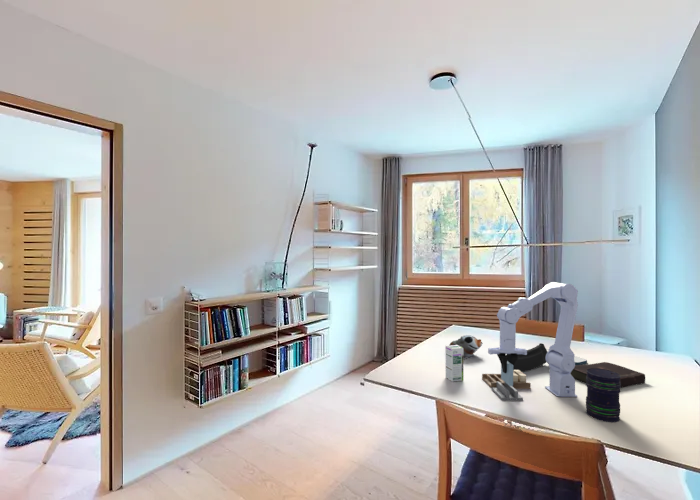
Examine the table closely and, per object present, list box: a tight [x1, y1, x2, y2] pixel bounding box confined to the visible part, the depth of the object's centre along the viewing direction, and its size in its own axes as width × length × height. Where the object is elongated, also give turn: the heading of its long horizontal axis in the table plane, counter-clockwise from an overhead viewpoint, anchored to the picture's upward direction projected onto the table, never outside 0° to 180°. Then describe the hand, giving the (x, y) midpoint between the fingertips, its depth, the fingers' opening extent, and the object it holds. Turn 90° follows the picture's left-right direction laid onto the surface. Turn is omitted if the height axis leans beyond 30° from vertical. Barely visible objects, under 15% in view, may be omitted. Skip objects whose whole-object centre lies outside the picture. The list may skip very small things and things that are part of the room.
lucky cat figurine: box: [448, 334, 483, 358], centre depth 196 cm, size 15×12×14 cm
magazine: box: [506, 343, 548, 373], centre depth 174 cm, size 17×3×30 cm
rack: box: [481, 373, 532, 390], centre depth 156 cm, size 11×16×2 cm
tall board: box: [500, 361, 513, 386], centre depth 144 cm, size 8×1×8 cm, turn 179°
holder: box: [491, 381, 524, 401], centre depth 144 cm, size 10×8×4 cm
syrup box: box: [444, 344, 464, 383], centre depth 161 cm, size 6×6×14 cm
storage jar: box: [585, 368, 622, 423], centre depth 127 cm, size 10×10×15 cm
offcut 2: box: [513, 370, 527, 383], centre depth 156 cm, size 7×2×4 cm, turn 0°
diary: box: [570, 361, 646, 389], centre depth 162 cm, size 19×25×5 cm
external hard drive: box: [546, 348, 588, 366], centre depth 193 cm, size 24×12×2 cm, turn 27°
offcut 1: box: [513, 372, 518, 382], centre depth 156 cm, size 7×2×4 cm, turn 0°
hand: (507, 372), depth 144 cm, fingers closed on tall board, 1 cm apart
